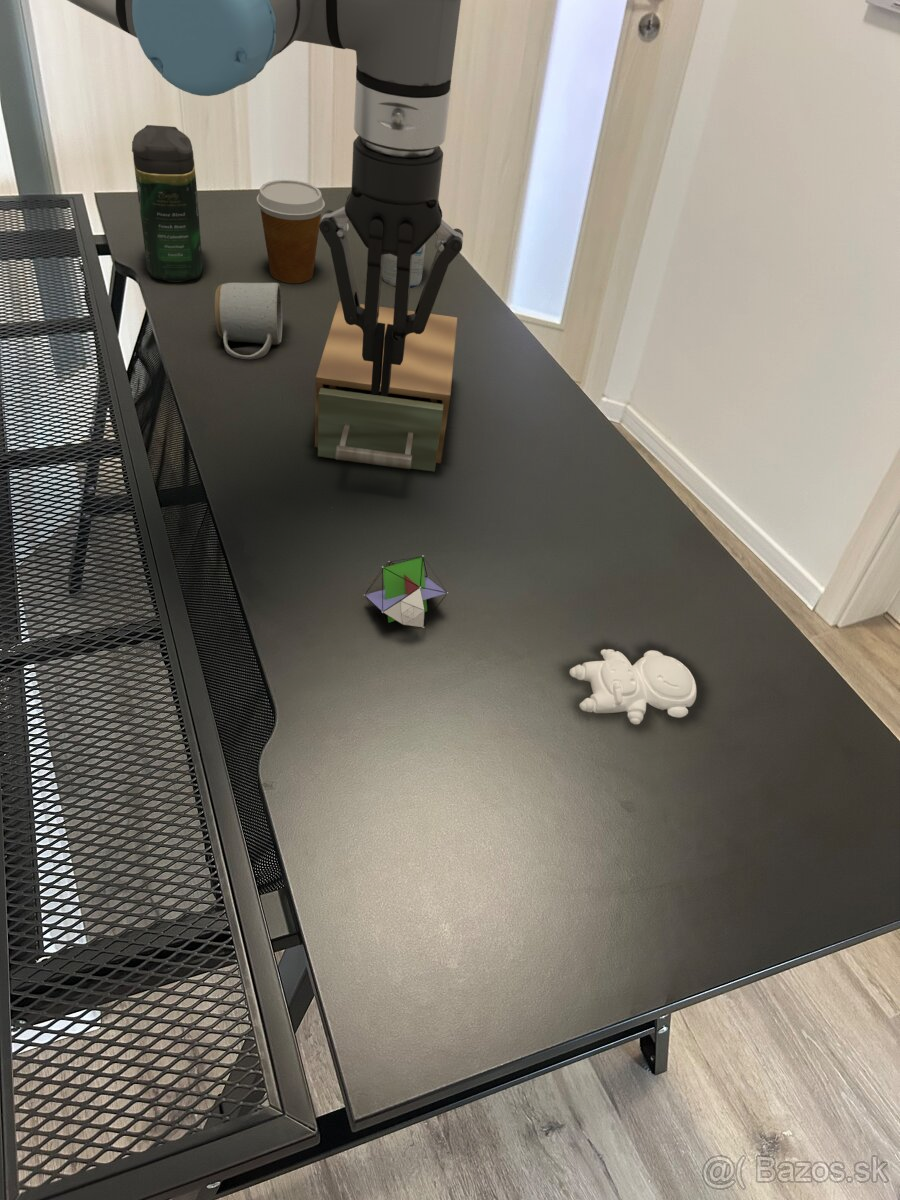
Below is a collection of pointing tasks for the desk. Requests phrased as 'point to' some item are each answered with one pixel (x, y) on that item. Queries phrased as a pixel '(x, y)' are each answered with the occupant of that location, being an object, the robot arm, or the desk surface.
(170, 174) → the coffee jar
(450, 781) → the desk surface
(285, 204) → the disposable coffee cup
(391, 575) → the geometric puzzle
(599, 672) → the astronaut figurine
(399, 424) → the drawer
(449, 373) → the cabinet
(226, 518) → the desk surface
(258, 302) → the ceramic mug
